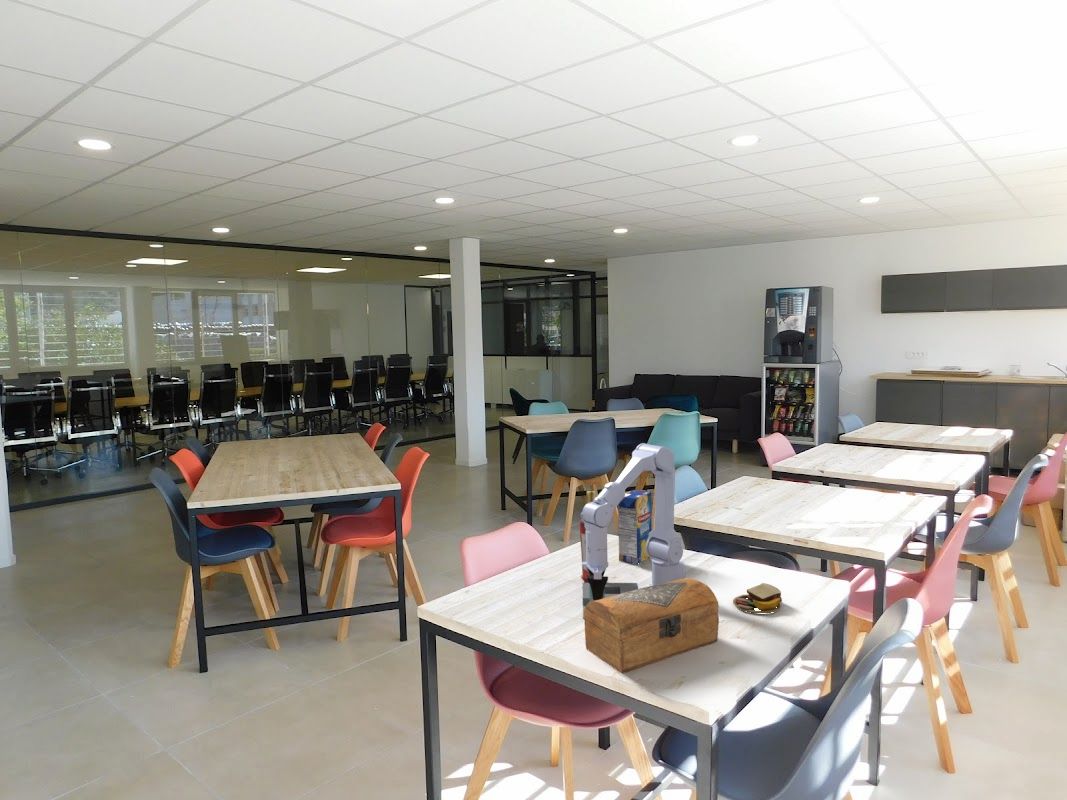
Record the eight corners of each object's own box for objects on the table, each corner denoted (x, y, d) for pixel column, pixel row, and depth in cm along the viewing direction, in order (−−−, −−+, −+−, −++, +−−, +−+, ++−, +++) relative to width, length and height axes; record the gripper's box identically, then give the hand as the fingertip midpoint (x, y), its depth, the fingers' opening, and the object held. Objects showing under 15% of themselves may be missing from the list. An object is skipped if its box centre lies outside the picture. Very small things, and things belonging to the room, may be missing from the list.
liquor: (604, 577, 214) (603, 489, 212) (604, 585, 207) (603, 494, 204) (580, 577, 215) (579, 489, 212) (579, 585, 208) (578, 494, 205)
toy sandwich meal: (724, 601, 194) (724, 585, 193) (766, 596, 197) (766, 579, 196) (748, 618, 182) (748, 601, 181) (793, 612, 185) (793, 595, 184)
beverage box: (618, 561, 229) (618, 496, 227) (633, 552, 238) (633, 489, 236) (637, 564, 225) (636, 498, 223) (652, 555, 234) (651, 492, 232)
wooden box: (623, 676, 152) (622, 616, 151) (582, 648, 167) (581, 592, 165) (724, 645, 167) (724, 589, 165) (678, 621, 181) (678, 570, 180)
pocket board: (637, 591, 202) (637, 582, 202) (640, 607, 190) (640, 598, 190) (582, 590, 203) (582, 582, 203) (582, 606, 191) (582, 598, 191)
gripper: (581, 539, 193) (582, 586, 194) (581, 555, 178) (582, 606, 180) (606, 539, 192) (607, 586, 194) (609, 555, 178) (609, 606, 179)
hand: (597, 595), depth 187 cm, fingers open, 7 cm apart
